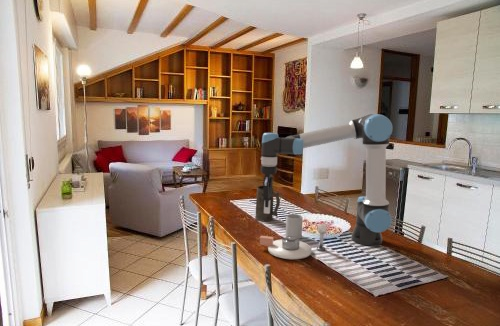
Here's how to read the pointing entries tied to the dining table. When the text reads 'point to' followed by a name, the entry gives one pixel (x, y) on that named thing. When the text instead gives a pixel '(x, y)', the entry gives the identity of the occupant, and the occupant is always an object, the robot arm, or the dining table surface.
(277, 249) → the turntable
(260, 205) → the beer stein
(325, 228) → the dial post
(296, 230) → the mug
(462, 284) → the dining table surface
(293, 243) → the cover
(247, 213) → the dining table surface
